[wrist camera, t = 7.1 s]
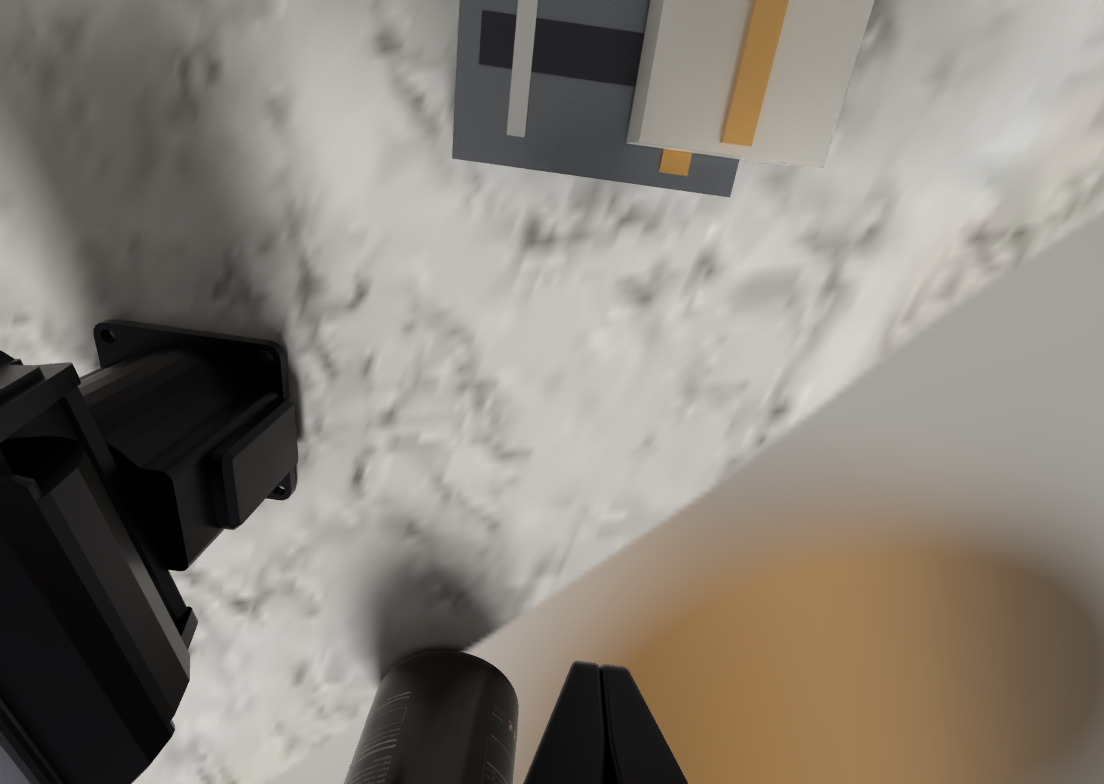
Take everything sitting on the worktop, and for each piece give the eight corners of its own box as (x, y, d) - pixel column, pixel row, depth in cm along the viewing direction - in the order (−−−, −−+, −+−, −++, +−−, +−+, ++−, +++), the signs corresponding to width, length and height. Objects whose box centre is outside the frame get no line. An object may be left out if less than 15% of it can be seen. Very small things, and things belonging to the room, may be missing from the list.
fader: (626, 143, 15) (640, 141, 11) (656, -37, 13) (683, -103, 10) (770, 163, 15) (829, 168, 11) (818, -13, 13) (902, -70, 10)
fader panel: (460, 157, 17) (451, 158, 15) (474, -92, 14) (464, -115, 13) (719, 194, 17) (731, 197, 15) (778, -48, 14) (796, -66, 13)
